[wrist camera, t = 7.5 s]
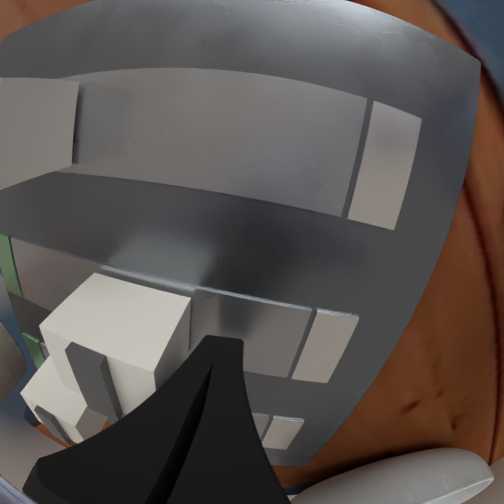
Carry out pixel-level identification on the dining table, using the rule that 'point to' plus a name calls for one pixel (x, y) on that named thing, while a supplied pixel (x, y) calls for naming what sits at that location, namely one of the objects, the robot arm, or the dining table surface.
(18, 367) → the thermos bottle
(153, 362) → the block
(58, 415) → the block
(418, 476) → the serving bowl
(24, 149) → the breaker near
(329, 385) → the panel
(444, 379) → the dining table surface
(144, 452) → the robot arm
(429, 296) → the dining table surface
